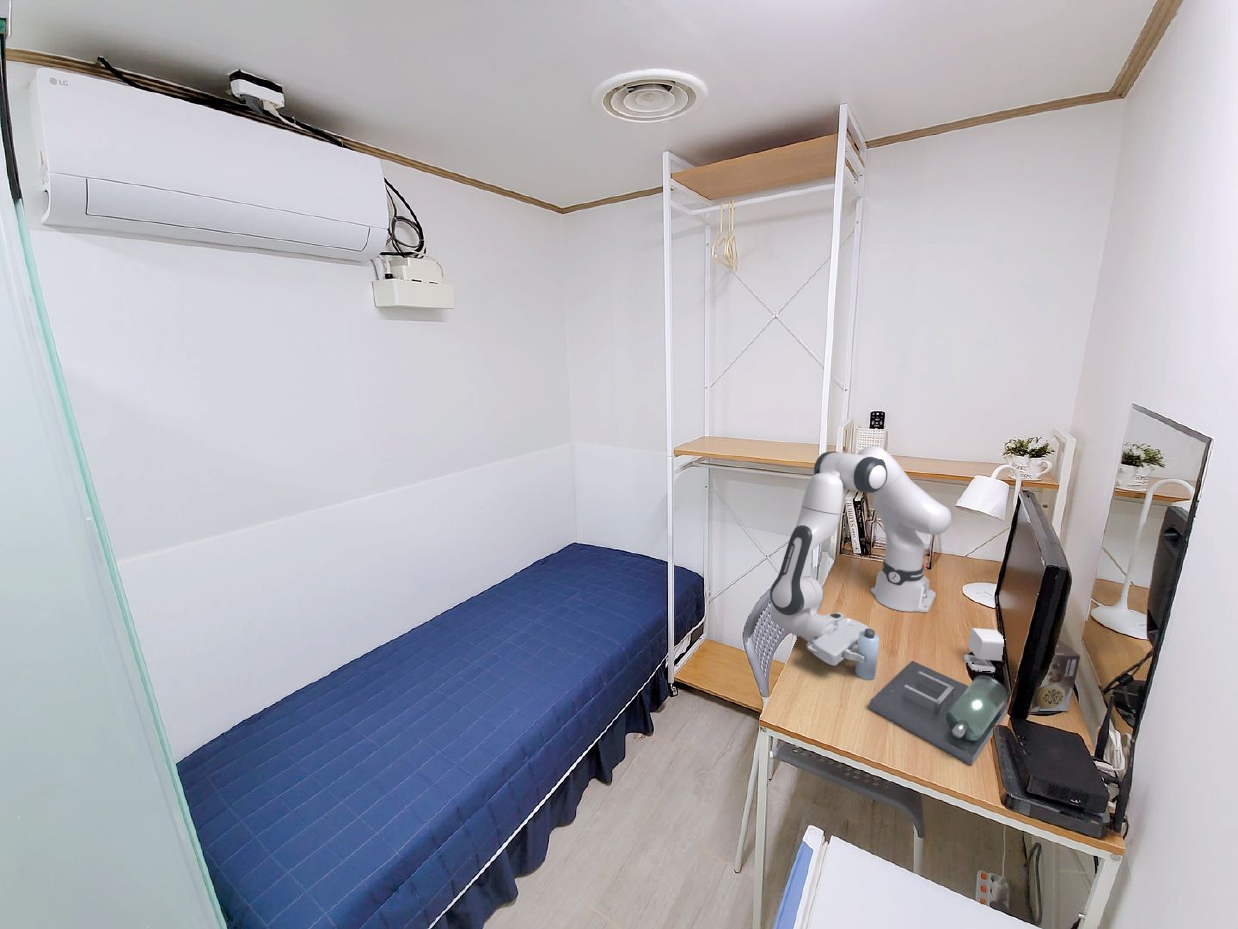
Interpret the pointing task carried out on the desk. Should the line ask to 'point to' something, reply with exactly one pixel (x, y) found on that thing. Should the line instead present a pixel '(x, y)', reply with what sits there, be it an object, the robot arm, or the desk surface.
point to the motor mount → (943, 709)
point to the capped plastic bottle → (867, 654)
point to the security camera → (984, 649)
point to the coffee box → (1058, 681)
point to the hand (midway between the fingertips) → (870, 654)
